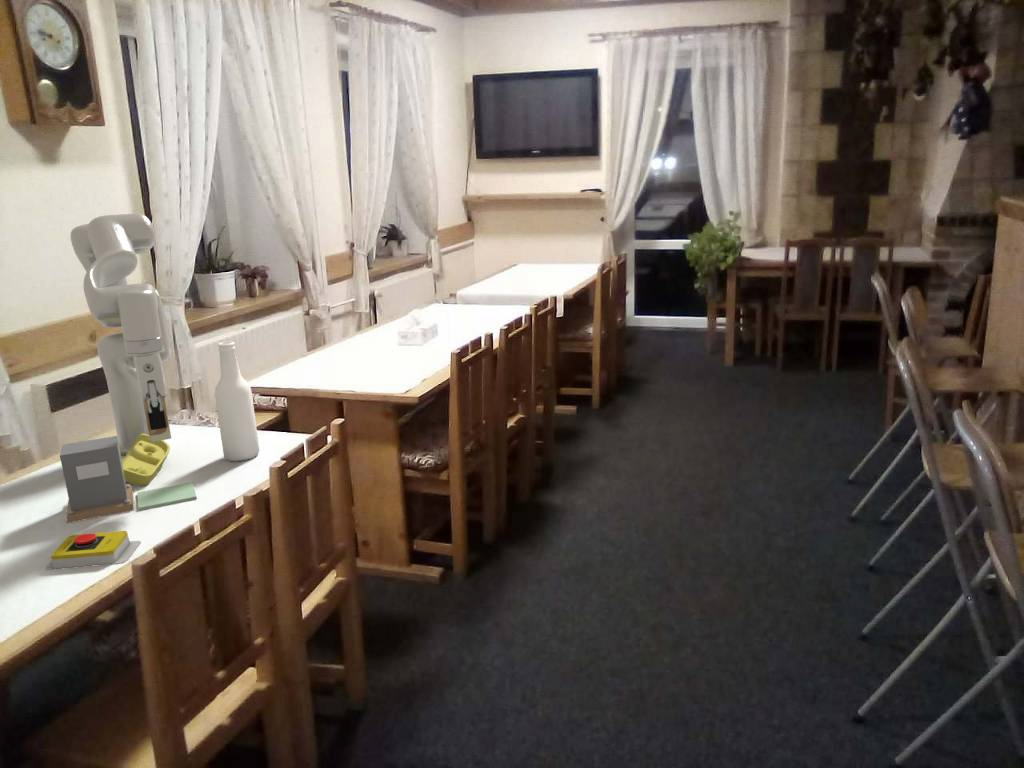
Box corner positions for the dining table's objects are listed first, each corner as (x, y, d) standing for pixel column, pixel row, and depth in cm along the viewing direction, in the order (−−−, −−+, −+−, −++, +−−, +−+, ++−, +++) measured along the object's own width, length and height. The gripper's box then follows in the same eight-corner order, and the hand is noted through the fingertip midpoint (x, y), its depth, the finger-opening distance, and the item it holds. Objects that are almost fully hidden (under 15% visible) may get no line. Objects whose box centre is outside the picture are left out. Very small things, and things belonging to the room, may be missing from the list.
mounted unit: (70, 503, 180) (57, 442, 176) (132, 491, 186) (122, 432, 182) (67, 523, 170) (53, 459, 166) (133, 509, 175) (122, 447, 171)
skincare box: (148, 434, 180) (139, 382, 177) (169, 431, 182) (160, 379, 179) (150, 443, 174) (141, 389, 171) (172, 439, 176) (163, 386, 173)
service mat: (137, 494, 183) (137, 492, 183) (193, 484, 188) (192, 481, 188) (138, 510, 175) (138, 507, 174) (196, 498, 179) (196, 496, 179)
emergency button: (60, 529, 157) (139, 523, 159) (64, 550, 158) (142, 543, 160) (39, 551, 148) (122, 544, 150) (43, 572, 149) (126, 565, 151)
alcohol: (265, 450, 209) (250, 338, 201) (250, 462, 201) (234, 346, 193) (234, 450, 211) (218, 339, 203) (218, 462, 202) (200, 347, 194)
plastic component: (149, 478, 187) (106, 463, 185) (141, 504, 189) (98, 490, 187) (175, 444, 206) (136, 430, 204) (167, 468, 208) (128, 455, 206)
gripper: (165, 351, 167) (179, 432, 171) (160, 336, 182) (173, 411, 186) (126, 356, 163) (141, 438, 168) (124, 341, 178) (138, 417, 183)
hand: (157, 423), depth 177 cm, fingers closed on skincare box, 6 cm apart
